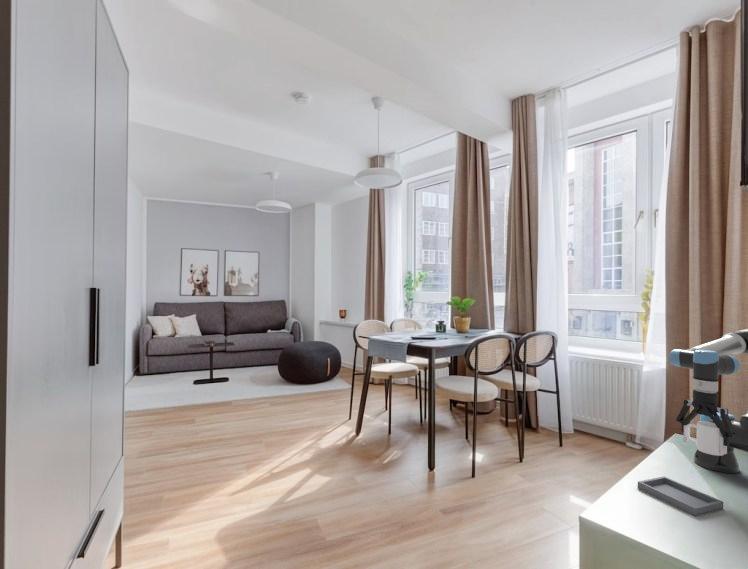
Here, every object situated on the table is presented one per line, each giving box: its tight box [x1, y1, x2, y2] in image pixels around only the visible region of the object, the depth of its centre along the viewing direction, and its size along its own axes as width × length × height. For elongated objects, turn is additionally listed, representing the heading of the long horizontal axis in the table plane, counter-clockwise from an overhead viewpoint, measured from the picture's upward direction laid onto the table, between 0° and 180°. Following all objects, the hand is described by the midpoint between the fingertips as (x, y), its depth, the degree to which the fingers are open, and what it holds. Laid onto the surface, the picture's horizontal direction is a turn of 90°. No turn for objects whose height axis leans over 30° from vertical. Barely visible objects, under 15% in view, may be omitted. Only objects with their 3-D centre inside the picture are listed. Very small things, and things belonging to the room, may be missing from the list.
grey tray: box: [637, 476, 725, 517], centre depth 145 cm, size 15×20×2 cm
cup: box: [685, 421, 723, 456], centre depth 153 cm, size 8×12×10 cm
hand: (704, 447), depth 152 cm, fingers closed on cup, 12 cm apart
